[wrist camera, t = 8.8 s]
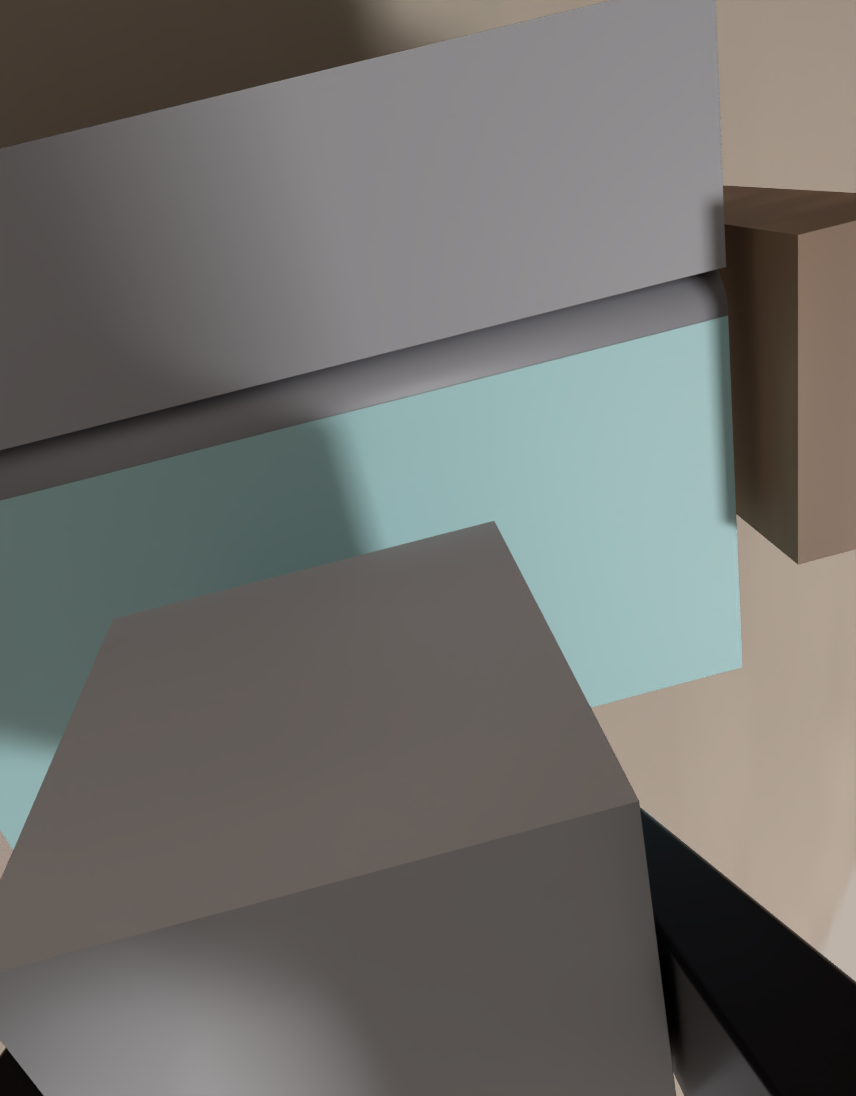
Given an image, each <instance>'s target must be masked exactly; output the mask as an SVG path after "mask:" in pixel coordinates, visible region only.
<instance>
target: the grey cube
mask: <svg viewBox="0 0 856 1096" xmlns="http://www.w3.org/2000/svg"><path fill="white" fill-rule="evenodd" d="M0 1040H1V1042H2V1043H3V1044H4V1045H5V1047H6V1048H7V1049H8V1051H9V1052H10V1053H11V1054H12V1056H13V1057H14V1058H15V1060H16V1061H17V1062H18V1063H19V1065H20V1066H21V1067H22V1068H23V1070H24V1071H25V1072H26V1074H27V1075H28V1076H29V1077H30V1079H31V1080H32V1081H33V1083H34V1084H35V1085H36V1086H37V1088H38V1089H39V1090H40V1091H41V1093H42V1094H43V1095H44V1096H676V1091H675V1083H674V1075H673V1067H672V1059H671V1051H670V1043H669V1035H668V1027H667V1019H666V1011H665V1004H664V996H663V988H662V980H661V972H660V964H659V956H658V948H657V940H656V932H655V924H654V916H653V908H652V900H651V893H650V885H649V877H648V869H647V861H646V853H645V845H644V837H643V829H642V821H641V813H640V805H639V800H638V798H637V796H636V794H635V792H634V790H633V789H632V787H631V785H630V783H629V781H628V779H627V777H626V775H625V773H624V771H623V769H622V767H621V765H620V763H619V761H618V759H617V758H616V756H615V754H614V752H613V750H612V748H611V746H610V744H609V742H608V740H607V738H606V736H605V734H604V732H603V730H602V728H601V727H600V725H599V723H598V721H597V719H596V717H595V715H594V713H593V711H592V709H591V707H590V705H589V703H588V701H587V699H586V697H585V695H584V694H583V692H582V690H581V688H580V686H579V684H578V682H577V680H576V678H575V676H574V674H573V672H572V670H571V668H570V666H569V664H568V663H567V661H566V659H565V657H564V655H563V653H562V651H561V649H560V647H559V645H558V643H557V641H556V639H555V637H554V635H553V633H552V632H551V630H550V628H549V626H548V624H547V622H546V620H545V618H544V616H543V614H542V612H541V610H540V608H539V606H538V604H537V602H536V601H535V599H534V597H533V595H532V593H531V591H530V589H529V587H528V585H527V583H526V581H525V579H524V577H523V575H522V573H521V571H520V569H519V568H518V566H517V564H516V562H515V560H514V558H513V556H512V554H511V552H510V550H509V548H508V546H507V544H506V542H505V540H504V538H503V537H502V535H501V533H500V531H499V529H498V527H497V525H496V523H495V521H491V522H487V523H483V524H479V525H475V526H471V527H468V528H464V529H460V530H456V531H452V532H448V533H444V534H440V535H436V536H433V537H429V538H425V539H421V540H417V541H413V542H409V543H405V544H401V545H398V546H394V547H390V548H386V549H382V550H378V551H374V552H370V553H366V554H363V555H359V556H355V557H351V558H347V559H343V560H339V561H335V562H331V563H328V564H324V565H320V566H316V567H312V568H308V569H304V570H300V571H296V572H293V573H289V574H285V575H281V576H277V577H273V578H269V579H265V580H261V581H258V582H254V583H250V584H246V585H242V586H238V587H234V588H230V589H226V590H223V591H219V592H215V593H211V594H207V595H203V596H199V597H195V598H191V599H187V600H184V601H180V602H176V603H172V604H168V605H164V606H160V607H156V608H152V609H149V610H145V611H141V612H137V613H133V614H129V615H125V616H121V617H117V618H114V619H113V620H112V622H111V624H110V627H109V629H108V631H107V634H106V636H105V638H104V641H103V643H102V645H101V648H100V650H99V652H98V654H97V657H96V659H95V661H94V664H93V666H92V668H91V671H90V673H89V675H88V678H87V680H86V682H85V685H84V687H83V689H82V692H81V694H80V696H79V699H78V701H77V703H76V706H75V708H74V710H73V713H72V715H71V717H70V720H69V722H68V724H67V727H66V729H65V731H64V733H63V736H62V738H61V740H60V743H59V745H58V747H57V750H56V752H55V754H54V757H53V759H52V761H51V764H50V766H49V768H48V771H47V773H46V775H45V778H44V780H43V782H42V785H41V787H40V789H39V792H38V794H37V796H36V799H35V801H34V803H33V806H32V808H31V810H30V812H29V815H28V817H27V819H26V822H25V824H24V826H23V829H22V831H21V833H20V836H19V838H18V840H17V843H16V845H15V847H14V850H13V852H12V854H11V857H10V859H9V861H8V864H7V866H6V868H5V871H4V873H3V875H2V878H1V880H0Z"/></svg>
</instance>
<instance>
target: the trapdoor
mask: <svg viewBox="0 0 856 1096" xmlns="http://www.w3.org/2000/svg"><path fill="white" fill-rule="evenodd" d="M724 267H726V251H725V226H724V201H723V177H722V152H721V127H720V102H719V77H718V52H717V27H716V2H715V0H611V1H607V2H603V3H598V4H594V5H590V6H586V7H582V8H578V9H574V10H570V11H565V12H561V13H557V14H553V15H549V16H545V17H541V18H537V19H532V20H528V21H524V22H520V23H516V24H512V25H508V26H504V27H499V28H495V29H491V30H487V31H483V32H479V33H475V34H471V35H466V36H462V37H458V38H454V39H450V40H446V41H442V42H438V43H433V44H429V45H425V46H421V47H417V48H413V49H409V50H405V51H401V52H396V53H392V54H388V55H384V56H380V57H376V58H372V59H368V60H363V61H359V62H355V63H351V64H347V65H343V66H339V67H335V68H330V69H326V70H322V71H318V72H314V73H310V74H306V75H302V76H297V77H293V78H289V79H285V80H281V81H277V82H273V83H269V84H264V85H260V86H256V87H252V88H248V89H244V90H240V91H236V92H231V93H227V94H223V95H219V96H215V97H211V98H207V99H203V100H198V101H194V102H190V103H186V104H182V105H178V106H174V107H170V108H165V109H161V110H157V111H153V112H149V113H145V114H141V115H137V116H132V117H128V118H124V119H120V120H116V121H112V122H108V123H104V124H99V125H95V126H91V127H87V128H83V129H79V130H75V131H71V132H66V133H62V134H58V135H54V136H50V137H46V138H42V139H38V140H33V141H29V142H25V143H21V144H17V145H13V146H9V147H5V148H0V831H1V832H2V834H3V835H4V837H5V838H6V840H7V841H8V843H9V844H10V846H11V847H12V849H13V850H14V847H15V845H16V843H17V840H18V838H19V836H20V833H21V831H22V829H23V826H24V824H25V822H26V819H27V817H28V815H29V812H30V810H31V808H32V806H33V803H34V801H35V799H36V796H37V794H38V792H39V789H40V787H41V785H42V782H43V780H44V778H45V775H46V773H47V771H48V768H49V766H50V764H51V761H52V759H53V757H54V754H55V752H56V750H57V747H58V745H59V743H60V740H61V738H62V736H63V733H64V731H65V729H66V727H67V724H68V722H69V720H70V717H71V715H72V713H73V710H74V708H75V706H76V703H77V701H78V699H79V696H80V694H81V692H82V689H83V687H84V685H85V682H86V680H87V678H88V675H89V673H90V671H91V668H92V666H93V664H94V661H95V659H96V657H97V654H98V652H99V650H100V648H101V645H102V643H103V641H104V638H105V636H106V634H107V631H108V629H109V627H110V624H111V622H112V620H113V619H114V618H117V617H121V616H125V615H129V614H133V613H137V612H141V611H145V610H149V609H152V608H156V607H160V606H164V605H168V604H172V603H176V602H180V601H184V600H187V599H191V598H195V597H199V596H203V595H207V594H211V593H215V592H219V591H223V590H226V589H230V588H234V587H238V586H242V585H246V584H250V583H254V582H258V581H261V580H265V579H269V578H273V577H277V576H281V575H285V574H289V573H293V572H296V571H300V570H304V569H308V568H312V567H316V566H320V565H324V564H328V563H331V562H335V561H339V560H343V559H347V558H351V557H355V556H359V555H363V554H366V553H370V552H374V551H378V550H382V549H386V548H390V547H394V546H398V545H401V544H405V543H409V542H413V541H417V540H421V539H425V538H429V537H433V536H436V535H440V534H444V533H448V532H452V531H456V530H460V529H464V528H468V527H471V526H475V525H479V524H483V523H487V522H491V521H495V523H496V525H497V527H498V529H499V531H500V533H501V535H502V537H503V538H504V540H505V542H506V544H507V546H508V548H509V550H510V552H511V554H512V556H513V558H514V560H515V562H516V564H517V566H518V568H519V569H520V571H521V573H522V575H523V577H524V579H525V581H526V583H527V585H528V587H529V589H530V591H531V593H532V595H533V597H534V599H535V601H536V602H537V604H538V606H539V608H540V610H541V612H542V614H543V616H544V618H545V620H546V622H547V624H548V626H549V628H550V630H551V632H552V633H553V635H554V637H555V639H556V641H557V643H558V645H559V647H560V649H561V651H562V653H563V655H564V657H565V659H566V661H567V663H568V664H569V666H570V668H571V670H572V672H573V674H574V676H575V678H576V680H577V682H578V684H579V686H580V688H581V690H582V692H583V694H584V695H585V697H586V699H587V701H588V703H589V705H590V707H595V706H598V705H602V704H606V703H610V702H613V701H617V700H621V699H625V698H628V697H632V696H636V695H640V694H643V693H647V692H651V691H655V690H658V689H662V688H666V687H670V686H673V685H677V684H681V683H685V682H688V681H692V680H696V679H700V678H703V677H707V676H711V675H715V674H718V673H722V672H726V671H730V670H733V669H737V668H741V667H742V649H741V624H740V599H739V575H738V550H737V525H736V500H735V475H734V450H733V425H732V400H731V376H730V351H729V326H728V304H727V297H726V292H725V288H724V285H723V282H722V279H721V277H720V275H719V273H718V271H717V270H716V269H720V268H724Z"/></svg>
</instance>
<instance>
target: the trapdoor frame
mask: <svg viewBox="0 0 856 1096" xmlns="http://www.w3.org/2000/svg"><path fill="white" fill-rule="evenodd" d="M723 201H724V226H725V251H726V267H724V268H720V269H716V270H717V271H718V273H719V275H720V277H721V279H722V282H723V285H724V288H725V292H726V297H727V304H728V326H729V351H730V376H731V400H732V425H733V450H734V475H735V500H736V514H737V515H738V516H740V517H741V518H742V519H743V520H744V521H746V522H747V523H748V524H749V525H751V526H752V527H753V528H754V529H755V530H757V531H758V532H759V533H760V534H762V535H763V536H764V537H765V538H766V539H768V540H769V541H770V542H771V543H773V544H774V545H775V546H776V547H777V548H779V549H780V550H781V551H782V552H784V553H785V554H786V555H787V556H788V557H790V558H791V559H792V560H793V561H795V562H796V563H797V564H801V563H805V562H809V561H813V560H816V559H820V558H824V557H828V556H832V555H835V554H839V553H843V552H847V551H851V550H854V549H856V193H844V192H827V191H809V190H792V189H774V188H757V187H739V186H723Z"/></svg>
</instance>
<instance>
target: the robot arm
mask: <svg viewBox="0 0 856 1096" xmlns="http://www.w3.org/2000/svg"><path fill="white" fill-rule="evenodd" d="M640 813H641V821H642V829H643V837H644V845H645V853H646V861H647V869H648V877H649V885H650V893H651V900H652V908H653V916H654V924H655V932H656V940H657V948H658V956H659V964H660V972H661V980H662V988H663V996H664V1004H665V1011H666V1019H667V1027H668V1035H669V1043H670V1051H671V1059H672V1067H673V1073H674V1075H675V1077H676V1079H677V1081H678V1083H679V1085H680V1087H681V1089H682V1092H683V1094H684V1096H856V982H855V981H854V980H853V979H852V978H850V977H849V976H848V975H846V974H845V973H844V972H843V971H842V970H841V969H839V968H838V967H837V966H836V965H834V964H833V963H832V962H831V961H829V960H828V959H827V958H826V957H824V956H823V955H822V954H821V953H820V952H818V951H817V950H816V949H815V948H813V947H812V946H811V945H810V944H808V943H807V942H806V941H805V940H803V939H802V938H801V937H800V936H799V935H797V934H796V933H795V932H794V931H792V930H791V929H790V928H789V927H787V926H786V925H785V924H784V923H782V922H781V921H780V920H779V919H778V918H776V917H775V916H774V915H773V914H771V913H770V912H769V911H768V910H766V909H765V908H764V907H763V906H761V905H760V904H759V903H758V902H757V901H755V900H754V899H753V898H752V897H750V896H749V895H748V894H747V893H745V892H744V891H743V890H742V889H740V888H739V887H738V886H737V885H736V884H734V883H733V882H732V881H731V880H729V879H728V878H727V877H726V876H724V875H723V874H722V873H721V872H719V871H718V870H717V869H716V868H714V867H713V866H712V865H711V864H710V863H708V862H707V861H706V860H705V859H703V858H702V857H701V856H700V855H698V854H697V853H696V852H695V851H693V850H692V849H691V848H690V847H689V846H687V845H686V844H685V843H684V842H682V841H681V840H680V839H679V838H677V837H676V836H675V835H674V834H672V833H671V832H670V831H669V830H668V829H666V828H665V827H664V826H663V825H661V824H660V823H659V822H658V821H656V820H655V819H654V818H653V817H651V816H650V815H649V814H648V813H647V812H645V811H644V810H643V809H642V808H640ZM0 1096H44V1095H43V1094H42V1093H41V1091H40V1090H39V1089H38V1088H37V1086H36V1085H35V1084H34V1083H33V1081H32V1080H31V1079H30V1077H29V1076H28V1075H27V1074H26V1072H25V1071H24V1070H23V1068H22V1067H21V1066H20V1065H19V1063H18V1062H17V1061H16V1060H15V1058H14V1057H13V1056H12V1054H11V1053H10V1052H9V1051H8V1049H7V1048H5V1050H4V1051H3V1052H2V1054H1V1055H0Z"/></svg>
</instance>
